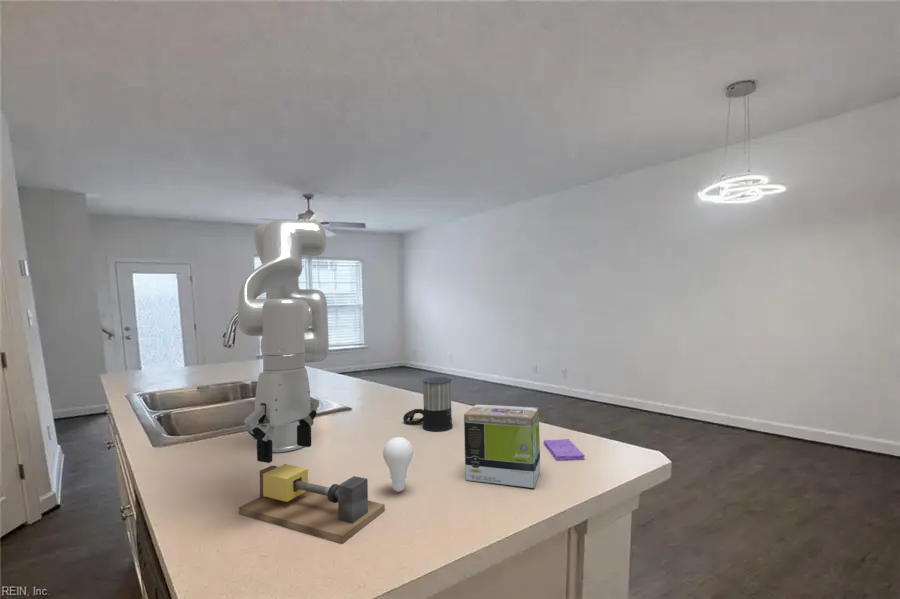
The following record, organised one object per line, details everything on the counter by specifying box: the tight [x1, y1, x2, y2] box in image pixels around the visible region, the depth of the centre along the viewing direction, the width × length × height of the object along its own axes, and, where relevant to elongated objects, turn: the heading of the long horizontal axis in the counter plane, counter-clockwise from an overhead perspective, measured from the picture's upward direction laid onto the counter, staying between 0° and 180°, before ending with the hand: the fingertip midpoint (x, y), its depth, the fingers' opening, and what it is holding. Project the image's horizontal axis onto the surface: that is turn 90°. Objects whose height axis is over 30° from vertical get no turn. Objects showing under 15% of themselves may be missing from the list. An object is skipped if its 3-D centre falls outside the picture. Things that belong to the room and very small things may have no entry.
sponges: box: [543, 438, 585, 462], centre depth 112 cm, size 7×13×2 cm, turn 2°
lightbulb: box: [382, 436, 414, 493], centre depth 90 cm, size 6×6×11 cm
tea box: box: [463, 403, 541, 489], centre depth 97 cm, size 15×10×15 cm, turn 71°
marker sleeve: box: [263, 463, 309, 502], centre depth 84 cm, size 6×5×4 cm
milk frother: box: [402, 376, 454, 432], centre depth 137 cm, size 14×16×15 cm
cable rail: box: [238, 464, 386, 544], centre depth 81 cm, size 24×12×7 cm, turn 65°
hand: (285, 453), depth 84 cm, fingers open, 9 cm apart
